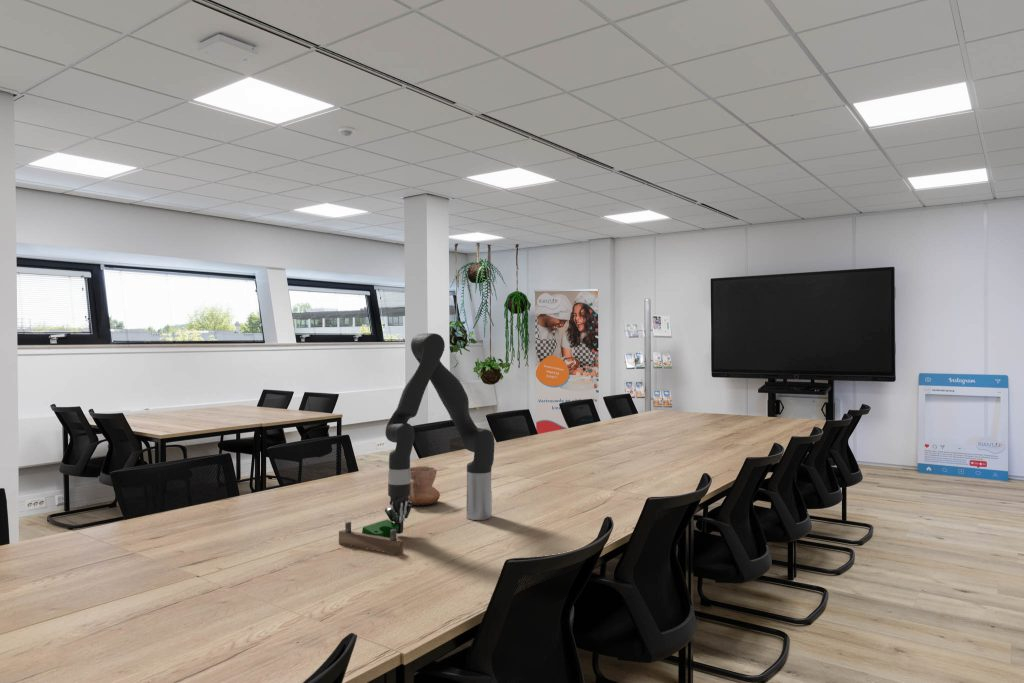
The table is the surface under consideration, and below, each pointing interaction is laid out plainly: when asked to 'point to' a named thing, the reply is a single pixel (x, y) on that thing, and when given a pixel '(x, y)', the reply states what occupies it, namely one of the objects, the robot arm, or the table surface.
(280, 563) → the table surface
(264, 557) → the table surface
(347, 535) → the bar
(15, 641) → the table surface
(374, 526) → the clamp
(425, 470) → the ceramic jug
